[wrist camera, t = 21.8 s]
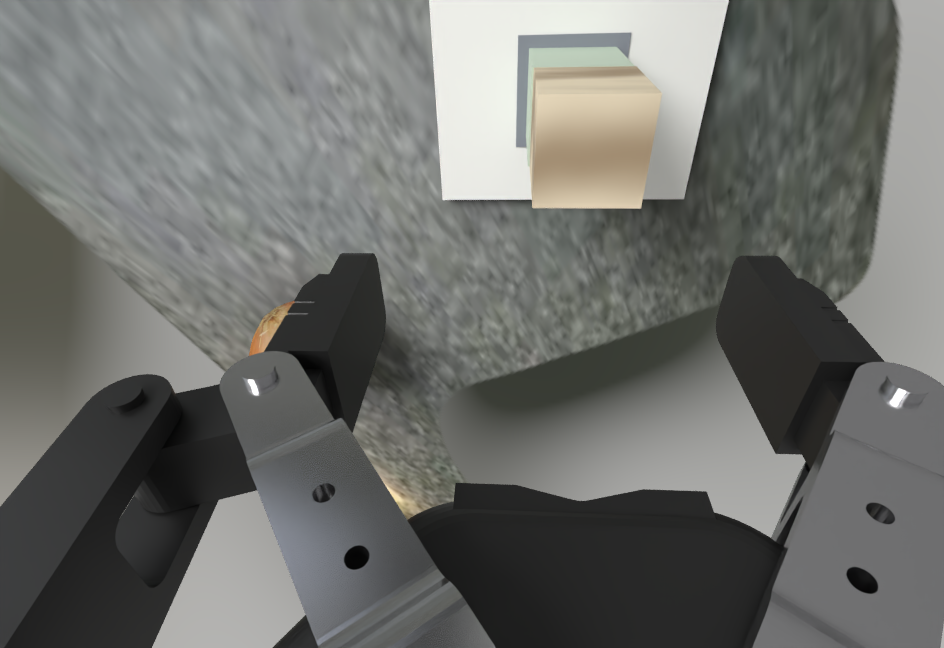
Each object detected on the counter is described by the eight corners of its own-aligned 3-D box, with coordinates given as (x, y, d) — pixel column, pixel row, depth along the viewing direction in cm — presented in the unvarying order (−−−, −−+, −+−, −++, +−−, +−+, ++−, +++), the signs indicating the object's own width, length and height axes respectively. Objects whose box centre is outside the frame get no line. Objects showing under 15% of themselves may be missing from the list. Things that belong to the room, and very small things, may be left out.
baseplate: (428, -40, 32) (426, -39, 31) (734, -51, 30) (740, -50, 29) (444, 194, 40) (442, 200, 40) (680, 193, 39) (684, 199, 38)
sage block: (529, 48, 33) (531, 67, 28) (616, 46, 33) (634, 65, 28) (525, 135, 36) (527, 166, 32) (605, 135, 36) (619, 166, 31)
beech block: (533, 67, 28) (538, 94, 23) (636, 66, 28) (662, 93, 23) (529, 166, 32) (532, 207, 27) (621, 166, 31) (640, 208, 26)
